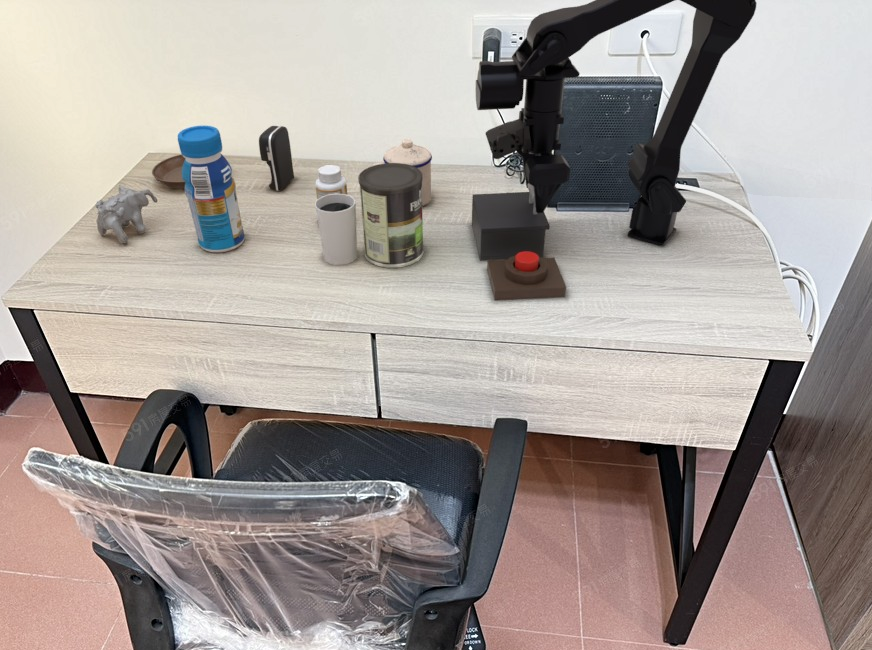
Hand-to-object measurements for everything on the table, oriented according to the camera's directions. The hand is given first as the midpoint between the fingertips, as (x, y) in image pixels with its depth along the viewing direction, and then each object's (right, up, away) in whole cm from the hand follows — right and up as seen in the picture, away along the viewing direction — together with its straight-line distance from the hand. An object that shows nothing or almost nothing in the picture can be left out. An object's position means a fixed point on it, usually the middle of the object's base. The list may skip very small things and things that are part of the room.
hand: (534, 199), depth 119 cm
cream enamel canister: (-22, +4, +19) cm, 29 cm away
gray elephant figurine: (-73, -3, +13) cm, 74 cm away
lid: (-4, -2, +1) cm, 5 cm away
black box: (-4, -6, +5) cm, 9 cm away
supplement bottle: (-35, -1, +13) cm, 37 cm away
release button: (-3, -12, -8) cm, 15 cm away
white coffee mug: (-33, -9, +3) cm, 34 cm away
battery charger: (-47, +9, +26) cm, 55 cm away
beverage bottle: (-54, -6, +8) cm, 55 cm away
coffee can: (-24, -9, +3) cm, 25 cm away
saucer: (-66, +12, +29) cm, 74 cm away
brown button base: (-3, -15, -6) cm, 16 cm away
